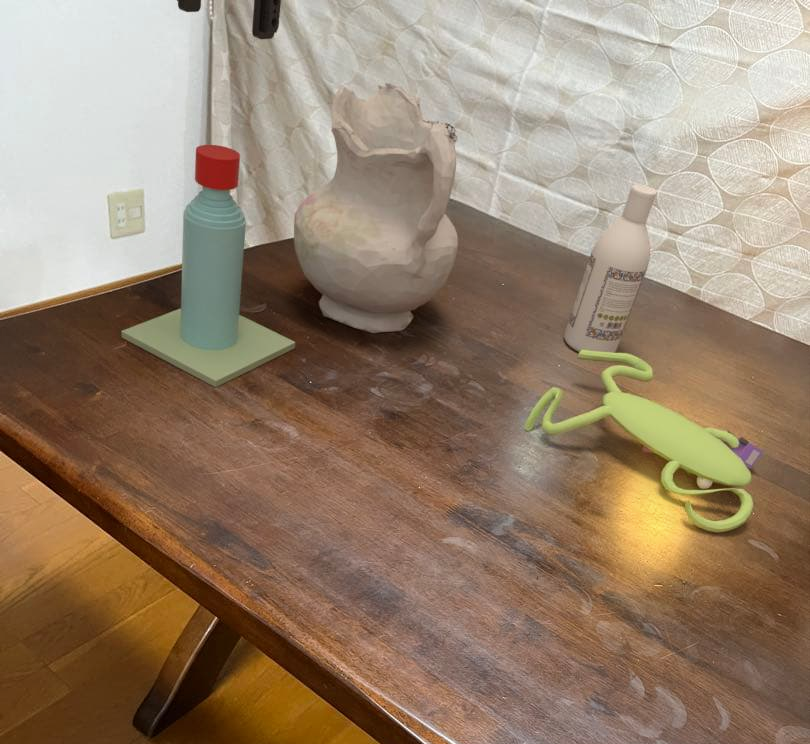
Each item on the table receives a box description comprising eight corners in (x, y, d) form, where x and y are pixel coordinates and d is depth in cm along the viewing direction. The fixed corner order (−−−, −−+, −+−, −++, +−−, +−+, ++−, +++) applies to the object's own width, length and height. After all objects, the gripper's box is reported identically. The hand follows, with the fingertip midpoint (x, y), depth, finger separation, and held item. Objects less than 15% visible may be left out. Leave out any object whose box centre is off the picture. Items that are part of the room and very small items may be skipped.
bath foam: (625, 353, 111) (685, 198, 99) (591, 363, 107) (649, 202, 95) (586, 329, 115) (640, 176, 103) (552, 337, 111) (603, 179, 99)
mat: (121, 337, 91) (121, 330, 90) (206, 304, 100) (206, 298, 100) (215, 387, 87) (216, 380, 86) (295, 348, 96) (295, 342, 96)
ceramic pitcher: (479, 349, 107) (546, 138, 93) (362, 370, 94) (420, 129, 80) (368, 277, 118) (412, 78, 103) (249, 287, 105) (282, 61, 91)
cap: (246, 185, 84) (248, 156, 82) (218, 193, 81) (219, 162, 79) (214, 172, 85) (216, 142, 83) (185, 178, 82) (186, 148, 80)
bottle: (168, 333, 92) (171, 153, 80) (206, 317, 96) (214, 144, 84) (212, 355, 90) (221, 174, 78) (248, 338, 94) (262, 163, 83)
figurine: (587, 373, 105) (602, 331, 102) (790, 482, 94) (815, 439, 90) (500, 417, 93) (514, 371, 89) (722, 548, 82) (747, 502, 78)
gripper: (133, -241, 66) (135, 3, 76) (279, -205, 61) (261, 49, 71) (201, -224, 71) (194, 2, 81) (340, -189, 67) (315, 45, 77)
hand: (225, 24), depth 76 cm, fingers open, 8 cm apart
